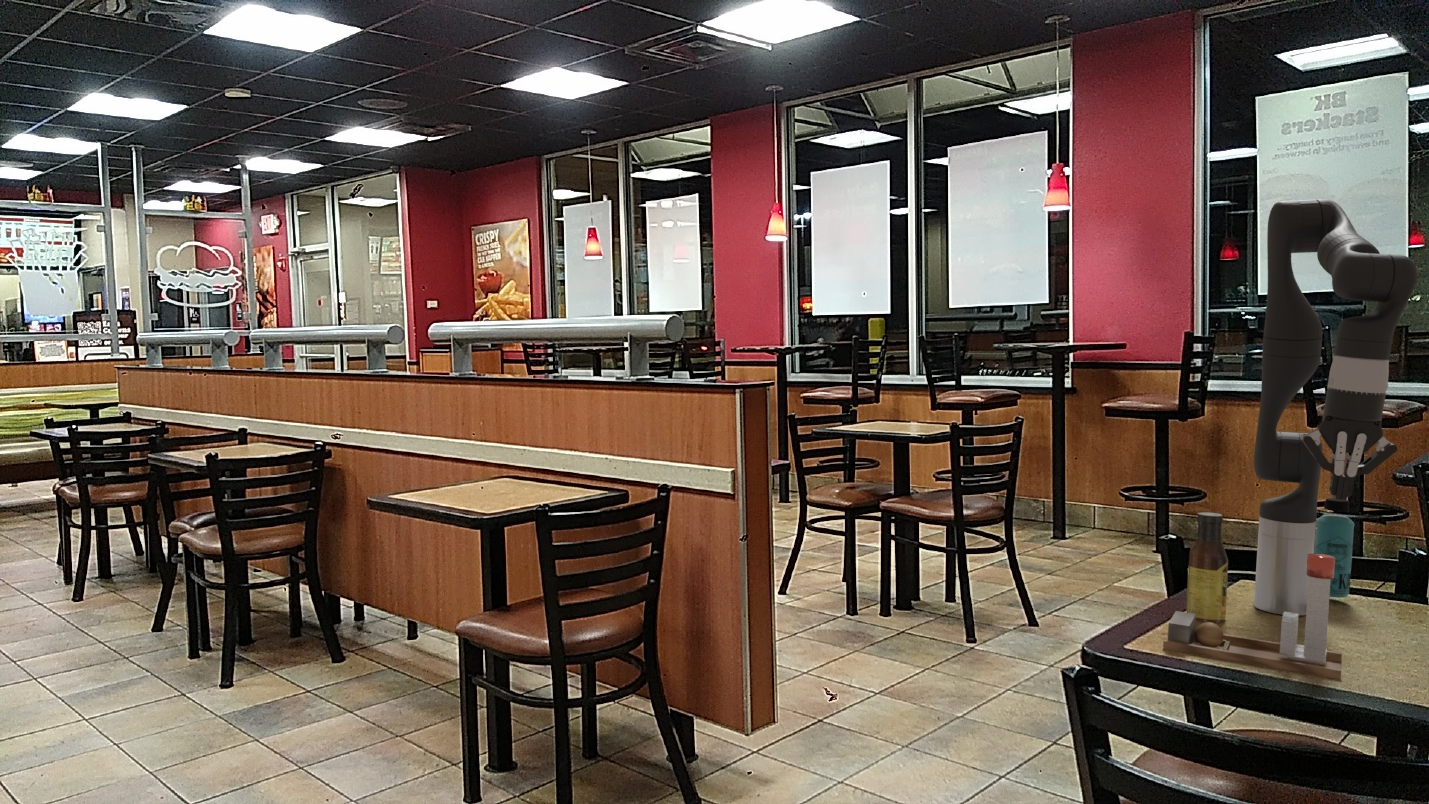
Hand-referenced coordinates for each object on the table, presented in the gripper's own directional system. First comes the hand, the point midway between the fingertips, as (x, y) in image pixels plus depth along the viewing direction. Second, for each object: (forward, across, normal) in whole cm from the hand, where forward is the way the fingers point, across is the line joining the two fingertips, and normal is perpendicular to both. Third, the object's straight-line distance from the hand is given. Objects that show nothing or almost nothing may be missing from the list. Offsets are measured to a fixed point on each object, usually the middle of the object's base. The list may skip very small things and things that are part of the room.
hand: (1339, 498), depth 154 cm
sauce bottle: (+28, +14, -15) cm, 35 cm away
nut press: (+27, +9, +4) cm, 29 cm away
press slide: (+25, +3, +6) cm, 25 cm away
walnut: (+26, +15, +3) cm, 30 cm away
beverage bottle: (+28, -10, -43) cm, 52 cm away
